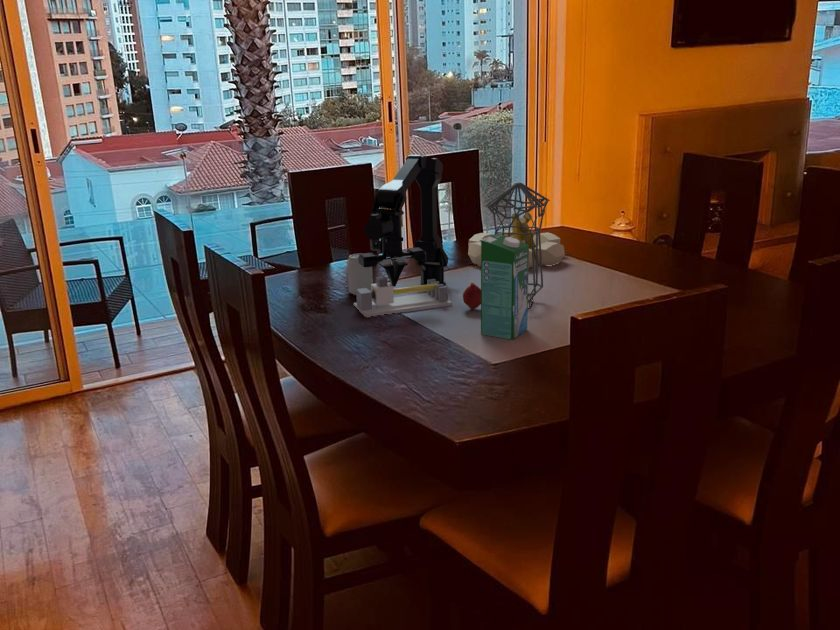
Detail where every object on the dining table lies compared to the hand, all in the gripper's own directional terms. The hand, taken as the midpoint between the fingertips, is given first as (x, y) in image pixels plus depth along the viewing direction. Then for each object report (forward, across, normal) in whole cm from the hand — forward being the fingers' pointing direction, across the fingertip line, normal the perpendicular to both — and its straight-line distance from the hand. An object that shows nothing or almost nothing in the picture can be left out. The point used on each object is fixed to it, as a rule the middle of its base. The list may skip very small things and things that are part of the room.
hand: (393, 286), depth 218 cm
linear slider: (+6, -2, 0) cm, 7 cm away
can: (+6, +4, -18) cm, 20 cm away
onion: (+6, -20, +12) cm, 24 cm away
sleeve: (+4, +3, 0) cm, 5 cm away
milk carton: (+6, -18, +33) cm, 38 cm away
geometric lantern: (+6, -34, +12) cm, 36 cm away
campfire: (+7, -58, -36) cm, 69 cm away
